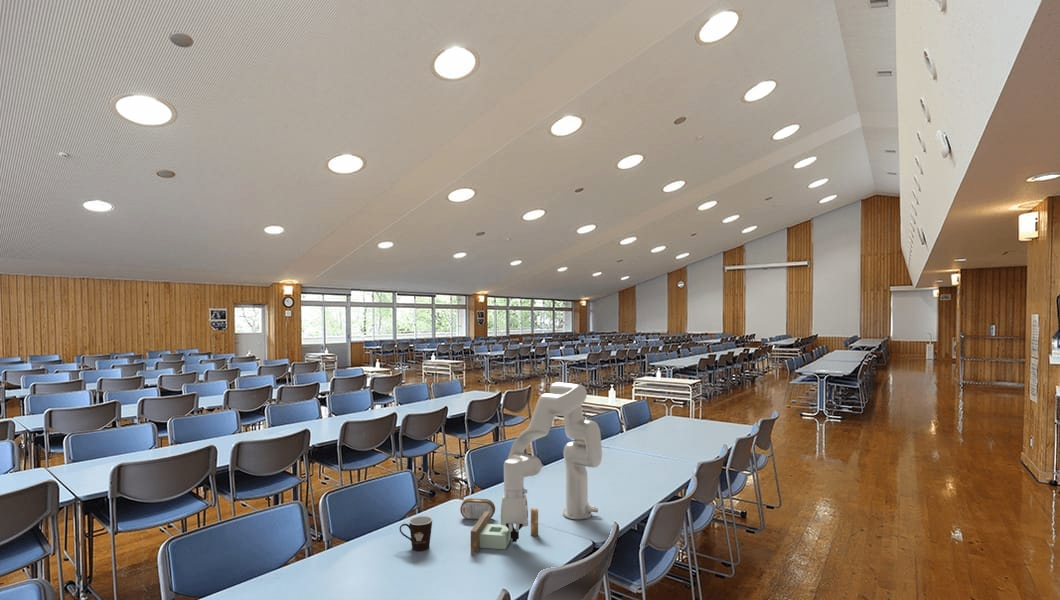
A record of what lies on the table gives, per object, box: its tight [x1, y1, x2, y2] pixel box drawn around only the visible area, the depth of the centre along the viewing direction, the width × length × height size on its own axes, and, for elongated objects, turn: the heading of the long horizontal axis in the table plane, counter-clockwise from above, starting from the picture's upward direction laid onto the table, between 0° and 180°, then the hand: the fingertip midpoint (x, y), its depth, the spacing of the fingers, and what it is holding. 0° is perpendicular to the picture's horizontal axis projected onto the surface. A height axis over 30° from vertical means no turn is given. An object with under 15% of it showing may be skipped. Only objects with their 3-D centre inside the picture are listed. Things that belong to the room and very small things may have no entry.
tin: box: [459, 498, 496, 521], centre depth 219 cm, size 15×3×8 cm, turn 84°
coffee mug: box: [399, 515, 433, 552], centre depth 192 cm, size 12×9×10 cm
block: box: [479, 523, 512, 550], centre depth 195 cm, size 10×10×5 cm
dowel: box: [530, 507, 539, 537], centre depth 203 cm, size 3×3×10 cm
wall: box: [470, 511, 491, 555], centre depth 196 cm, size 2×20×8 cm, turn 170°
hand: (514, 540), depth 194 cm, fingers closed
